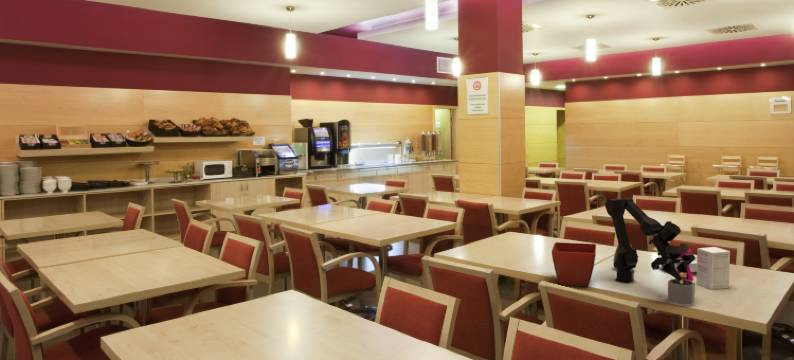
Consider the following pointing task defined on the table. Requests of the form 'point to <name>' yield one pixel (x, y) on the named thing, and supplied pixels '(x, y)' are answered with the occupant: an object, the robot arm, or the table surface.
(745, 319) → the table surface
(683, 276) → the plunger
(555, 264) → the plant pot
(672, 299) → the grey rounded cube
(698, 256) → the supplement box
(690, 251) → the pepper mill
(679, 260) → the robot arm
